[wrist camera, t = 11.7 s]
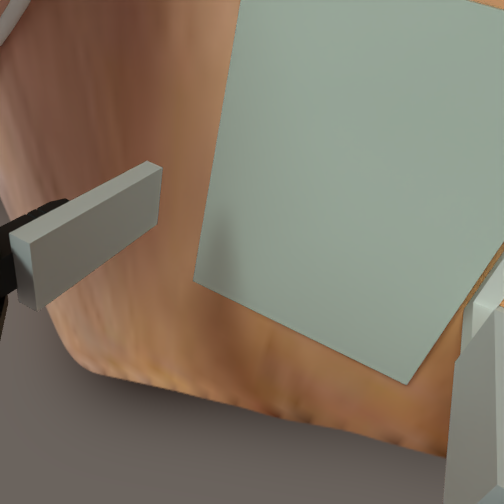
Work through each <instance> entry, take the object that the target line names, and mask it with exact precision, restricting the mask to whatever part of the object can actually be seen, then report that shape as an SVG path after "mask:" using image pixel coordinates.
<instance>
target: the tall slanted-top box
mask: <svg viewBox="0 0 504 504" xmlns="http://www.w3.org/2000/svg"><path fill="white" fill-rule="evenodd" d="M30 1H31V0H10V2H9V4H8V5H7V7H6V9H5V10H4V12H3V14H2V16H1V17H0V46H1V45H2V44H3V42H4V41H5V40H6V38H7V37H8V36H9V34H10V33H11V31H12V30H13V28H14V27H15V25H16V24H17V22H18V21H19V19H20V18H21V16H22V14H23V13H24V11H25V10H26V8H27V7H28V5H29V3H30Z"/></svg>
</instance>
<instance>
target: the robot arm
mask: <svg viewBox="0 0 504 504" xmlns="http://www.w3.org/2000/svg"><path fill="white" fill-rule="evenodd" d="M162 171H163V167H160V166H158V165H156V164H153V163H151V162H149V161H145V162H144V163H142V164H140V165H138V166H136V167H134V168H132V169H130V170H128V171H126V172H124V173H123V174H121V175H119V176H117V177H115V178H113V179H111V180H109V181H107V182H105V183H103V184H102V185H100V186H98V187H96V188H94V189H92V190H90V191H88V192H86V193H84V194H82V195H81V196H79V197H77V198H75V199H73V200H71V201H69V200H67V199H61V200H56V201H51V202H49V203H47V204H45V205H43V206H41V207H39V208H38V209H37V210H36V209H35V210H33V211H31V212H29V213H28V214H27V215H26V214H25V215H23V216H21V217H19V218H17V219H15V220H13V221H11V222H9V223H7V224H5V225H3V226H1V227H0V339H1V334H2V330H3V325H4V320H5V316H6V311H7V306H8V295H7V294H9V293H10V292H12V291H14V290H15V289H17V293H18V300H19V302H20V303H22V304H24V305H26V306H27V307H29V308H31V309H33V310H34V311H36V312H38V311H39V310H41V309H42V308H43V307H45V306H46V305H47V304H49V303H50V302H51V301H53V300H54V299H56V298H57V297H58V296H60V295H61V294H62V293H64V292H65V291H67V290H68V289H69V288H71V287H72V286H73V285H75V284H76V283H77V282H79V281H80V280H82V279H83V278H84V277H86V276H87V275H88V274H90V273H91V272H92V271H94V270H95V269H97V268H98V267H99V266H101V265H102V264H103V263H105V262H106V261H107V260H109V259H110V258H112V257H113V256H114V255H116V254H117V253H118V252H120V251H121V250H123V249H124V248H125V247H127V246H128V245H129V244H131V243H132V242H133V241H135V240H136V239H138V238H139V237H140V236H142V235H143V234H144V233H146V232H147V231H148V230H150V229H151V228H153V227H154V226H155V225H157V222H158V212H159V202H160V191H161V181H162ZM443 504H504V313H502V312H500V311H497V310H495V309H494V310H493V312H492V313H491V314H490V316H489V317H488V318H487V320H486V321H485V322H484V324H483V325H482V326H481V328H480V329H479V330H478V332H477V333H476V334H475V336H474V337H473V338H472V340H471V341H470V342H469V344H468V345H467V347H466V348H465V349H464V351H463V352H462V353H461V355H460V356H459V357H458V359H457V360H456V361H455V368H454V379H453V391H452V402H451V414H450V425H449V436H448V448H447V459H446V470H445V482H444V494H443Z"/></svg>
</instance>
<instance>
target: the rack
mask: <svg viewBox="0 0 504 504" xmlns="http://www.w3.org/2000/svg"><path fill="white" fill-rule="evenodd" d="M503 299H504V252H503V253H502V255H501V256H500V257H499V259H498V260H497V262H496V263H495V265H494V266H493V268H492V269H491V271H490V272H489V273H488V275H487V276H486V278H485V279H484V281H483V282H482V284H481V285H480V287H479V288H478V290H477V291H476V292H475V294H474V295H473V297H472V298H471V300H470V301H469V303H468V304H467V306H466V307H465V308H464V314H463V327H462V340H461V353H462V352H463V351H464V349H465V348H466V347H467V345H468V344H469V342H470V341H471V340H472V338H473V337H474V336H475V334H476V333H477V332H478V330H479V329H480V328H481V326H482V325H483V324H484V322H485V321H486V320H487V318H488V317H489V316H490V314H491V313H492V312H493V310H494V309H495V310H497V311H500V312H502V313H504V308H503V307H501V306H499V304H500V303H501V302H502V300H503ZM461 353H460V355H461Z"/></svg>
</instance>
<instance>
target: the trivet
mask: <svg viewBox="0 0 504 504" xmlns="http://www.w3.org/2000/svg"><path fill="white" fill-rule="evenodd" d="M503 242H504V9H500V8H496V7H493V6H489V5H485V4H482V3H478V2H474V1H471V0H241V2H240V8H239V13H238V19H237V25H236V31H235V37H234V43H233V49H232V55H231V60H230V66H229V72H228V78H227V84H226V90H225V96H224V101H223V107H222V113H221V119H220V125H219V131H218V137H217V142H216V148H215V154H214V160H213V166H212V172H211V178H210V184H209V189H208V195H207V201H206V207H205V213H204V219H203V225H202V230H201V236H200V242H199V248H198V254H197V260H196V266H195V272H194V277H193V281H194V282H196V283H198V284H200V285H202V286H204V287H206V288H208V289H210V290H212V291H214V292H216V293H218V294H221V295H223V296H225V297H227V298H229V299H231V300H233V301H235V302H237V303H239V304H241V305H243V306H245V307H247V308H249V309H251V310H253V311H255V312H257V313H260V314H262V315H264V316H266V317H268V318H270V319H272V320H274V321H276V322H278V323H280V324H282V325H284V326H286V327H288V328H290V329H292V330H294V331H296V332H299V333H301V334H303V335H305V336H307V337H309V338H311V339H313V340H315V341H317V342H319V343H321V344H323V345H325V346H327V347H329V348H331V349H333V350H335V351H337V352H340V353H342V354H344V355H346V356H348V357H350V358H352V359H354V360H356V361H358V362H360V363H362V364H364V365H366V366H368V367H370V368H372V369H374V370H376V371H379V372H381V373H383V374H385V375H387V376H389V377H391V378H393V379H395V380H397V381H399V382H401V383H403V384H405V385H407V384H408V382H409V381H410V379H411V378H412V376H413V375H414V373H415V372H416V371H417V369H418V368H419V366H420V365H421V363H422V362H423V360H424V359H425V357H426V356H427V354H428V353H429V351H430V350H431V348H432V347H433V345H434V344H435V342H436V341H437V339H438V338H439V336H440V335H441V333H442V332H443V330H444V329H445V328H446V326H447V325H448V323H449V322H450V320H451V319H452V317H453V316H454V314H455V313H456V311H457V310H458V308H459V307H460V305H461V304H462V302H463V301H464V299H465V298H466V296H467V295H468V293H469V292H470V290H471V289H472V288H473V286H474V285H475V283H476V282H477V280H478V279H479V277H480V276H481V274H482V273H483V271H484V270H485V268H486V267H487V265H488V264H489V262H490V261H491V259H492V258H493V256H494V255H495V253H496V252H497V250H498V249H499V247H500V246H501V245H502V243H503Z"/></svg>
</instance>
